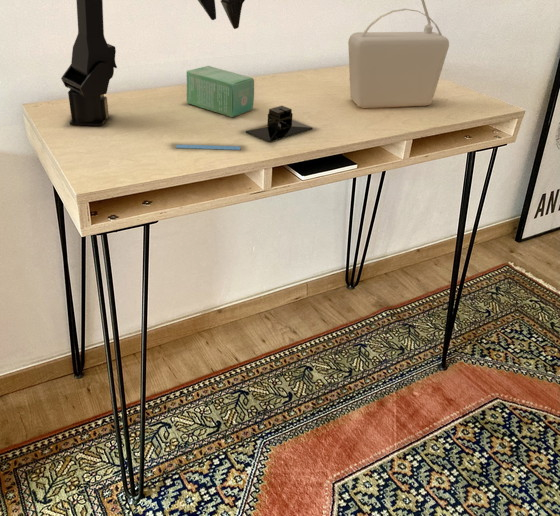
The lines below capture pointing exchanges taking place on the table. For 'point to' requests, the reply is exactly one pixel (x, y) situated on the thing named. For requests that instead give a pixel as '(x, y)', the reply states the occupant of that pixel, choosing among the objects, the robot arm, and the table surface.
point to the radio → (396, 66)
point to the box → (220, 91)
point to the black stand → (279, 126)
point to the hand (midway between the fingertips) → (224, 23)
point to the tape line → (209, 147)
